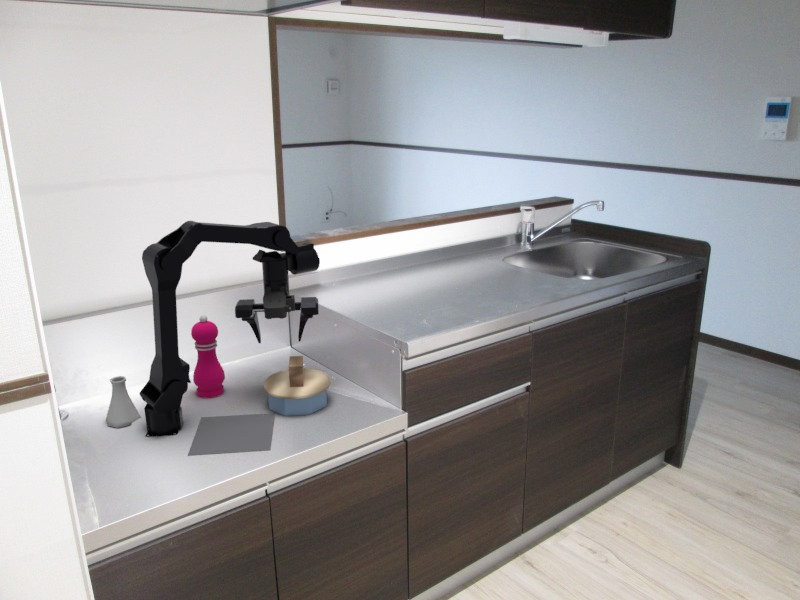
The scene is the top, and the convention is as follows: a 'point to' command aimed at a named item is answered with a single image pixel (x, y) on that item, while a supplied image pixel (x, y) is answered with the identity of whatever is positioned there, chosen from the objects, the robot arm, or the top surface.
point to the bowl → (297, 404)
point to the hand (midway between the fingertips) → (279, 341)
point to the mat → (233, 434)
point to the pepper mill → (207, 360)
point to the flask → (121, 405)
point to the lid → (296, 381)
